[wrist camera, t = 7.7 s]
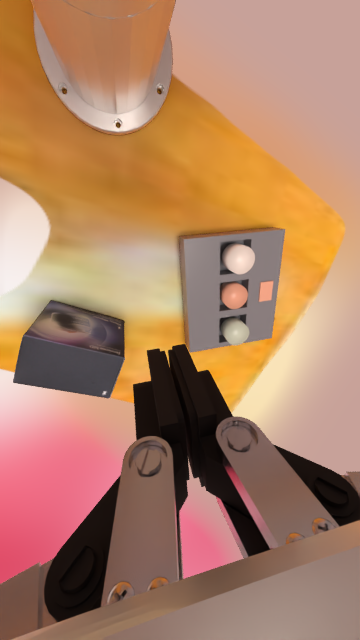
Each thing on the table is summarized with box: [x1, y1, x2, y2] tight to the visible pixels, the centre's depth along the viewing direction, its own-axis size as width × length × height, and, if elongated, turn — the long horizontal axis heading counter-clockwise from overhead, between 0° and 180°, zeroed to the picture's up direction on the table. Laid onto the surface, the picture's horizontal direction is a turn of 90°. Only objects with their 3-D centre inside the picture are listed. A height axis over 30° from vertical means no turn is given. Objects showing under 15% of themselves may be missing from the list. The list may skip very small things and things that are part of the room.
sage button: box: [221, 317, 249, 345], centre depth 37 cm, size 4×4×2 cm
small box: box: [13, 300, 125, 398], centre depth 31 cm, size 11×6×10 cm, turn 67°
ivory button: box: [222, 243, 255, 274], centre depth 32 cm, size 4×4×2 cm
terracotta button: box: [220, 281, 248, 309], centre depth 35 cm, size 4×4×2 cm
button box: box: [179, 227, 285, 352], centre depth 36 cm, size 17×14×3 cm
